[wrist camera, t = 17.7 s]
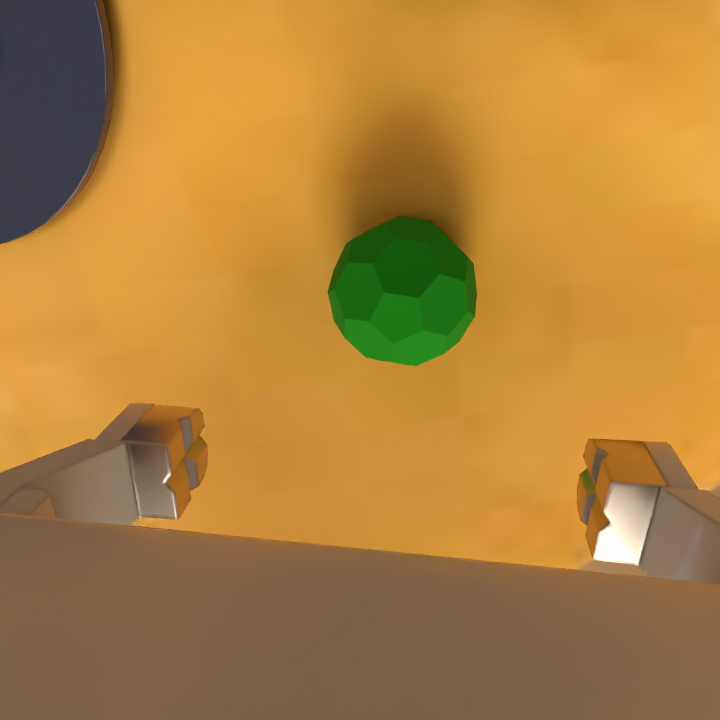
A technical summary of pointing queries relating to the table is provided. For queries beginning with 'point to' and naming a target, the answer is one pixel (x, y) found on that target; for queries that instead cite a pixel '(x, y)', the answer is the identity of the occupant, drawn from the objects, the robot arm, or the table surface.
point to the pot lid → (50, 106)
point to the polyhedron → (403, 292)
